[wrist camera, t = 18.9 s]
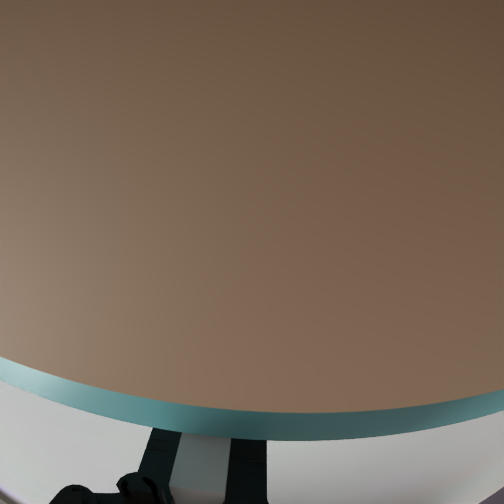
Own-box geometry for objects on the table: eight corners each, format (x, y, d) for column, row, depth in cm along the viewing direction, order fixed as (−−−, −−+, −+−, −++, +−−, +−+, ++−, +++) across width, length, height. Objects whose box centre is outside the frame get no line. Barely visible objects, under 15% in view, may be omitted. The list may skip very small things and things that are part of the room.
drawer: (451, 335, 14) (509, 408, 8) (15, 298, 14) (-52, 353, 8) (472, -57, 7) (527, -94, 1) (51, -76, 7) (0, -113, 1)
